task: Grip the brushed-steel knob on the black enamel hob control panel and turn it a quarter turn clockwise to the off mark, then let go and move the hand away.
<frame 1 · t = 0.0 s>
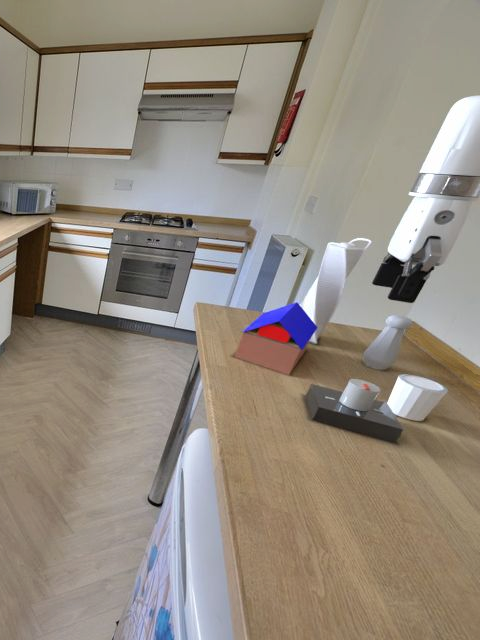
hand: (390, 293, 71), 25 cm above the countertop, tool pointing down, fingers open, 9 cm apart
hob panel: (346, 417, 79), on the countertop
skyscraper: (304, 338, 114), on the countertop
hob knob: (359, 394, 77), point 5 cm above the countertop, hinge at 90.0°
house: (270, 354, 104), on the countertop
salt shaker: (374, 366, 100), on the countertop
shot glass: (404, 413, 82), on the countertop
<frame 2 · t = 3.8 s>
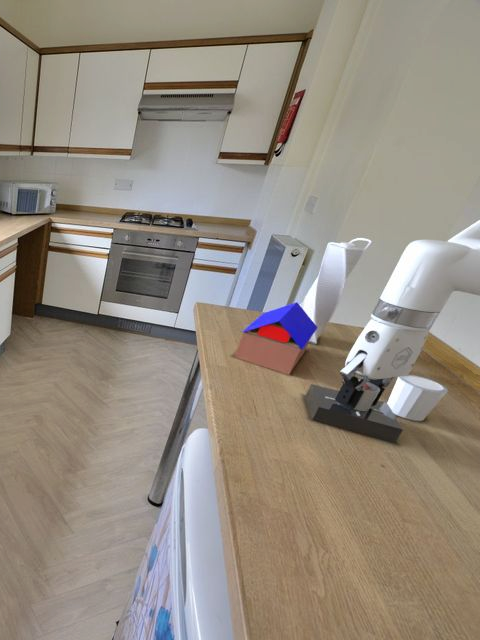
hand: (354, 402, 78), 4 cm above the countertop, tool pointing down, fingers closed on hob knob, 4 cm apart
hob knob: (359, 394, 77), point 5 cm above the countertop, hinge at 90.2°, touching gripper
everything else where it was.
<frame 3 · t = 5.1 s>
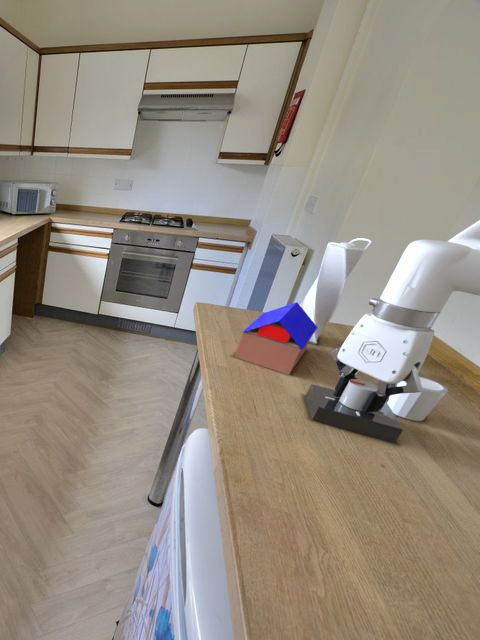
hand: (354, 402, 78), 4 cm above the countertop, tool pointing down, fingers closed on hob knob, 4 cm apart
hob knob: (359, 394, 77), point 5 cm above the countertop, hinge at -1.2°, touching gripper
everything else where it was.
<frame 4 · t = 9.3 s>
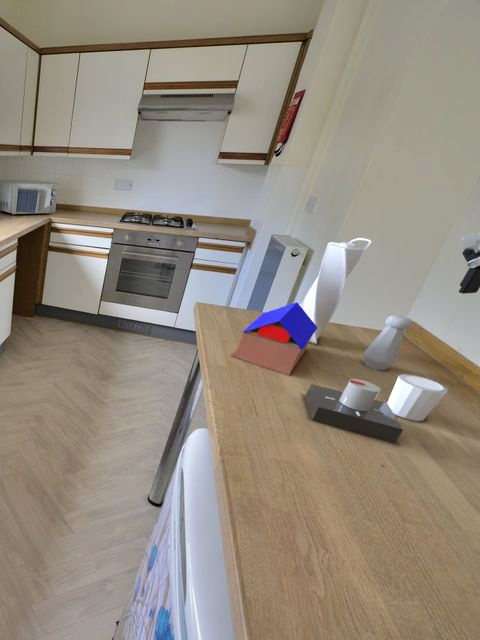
hob knob: (359, 394, 77), point 5 cm above the countertop, hinge at -2.7°
everything else where it was.
at the end: hob knob at -3° (first picture: +90°); the gripper is holding nothing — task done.
